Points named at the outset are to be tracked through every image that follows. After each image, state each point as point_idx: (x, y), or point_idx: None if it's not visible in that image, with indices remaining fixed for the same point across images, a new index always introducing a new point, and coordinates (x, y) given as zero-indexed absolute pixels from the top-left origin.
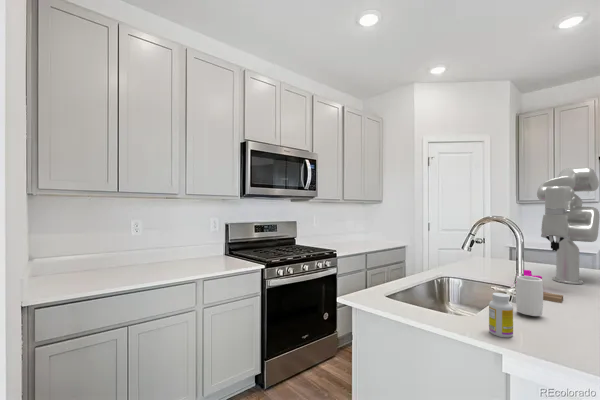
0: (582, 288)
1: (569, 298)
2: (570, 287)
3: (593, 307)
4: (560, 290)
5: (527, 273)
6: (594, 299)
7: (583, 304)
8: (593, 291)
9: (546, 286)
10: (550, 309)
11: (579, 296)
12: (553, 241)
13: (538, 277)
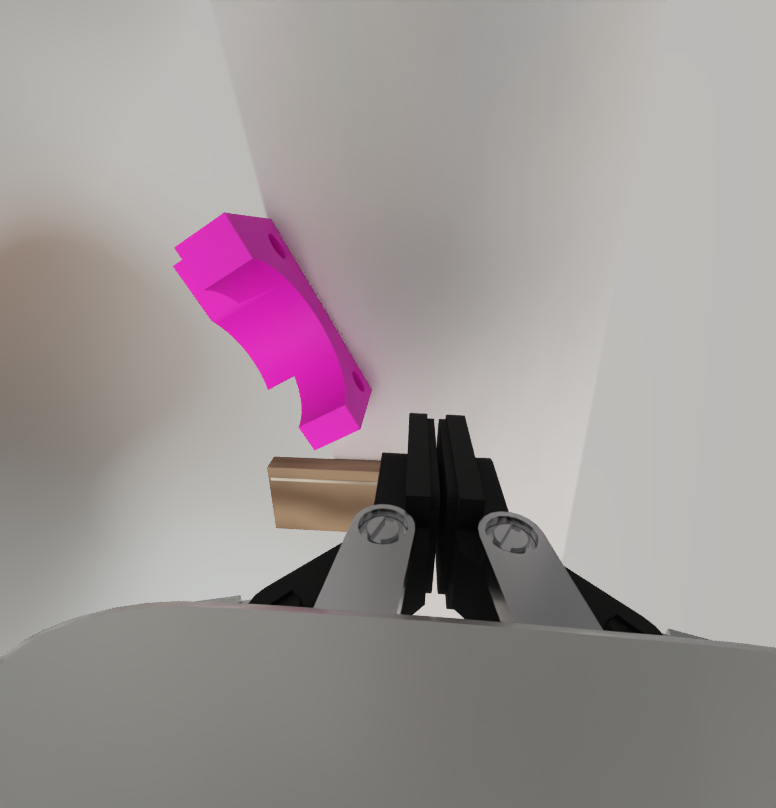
0: (582, 45)
1: (490, 427)
2: (504, 89)
3: (568, 509)
4: (448, 266)
5: (240, 276)
6: (599, 361)
7: (537, 490)
8: (641, 107)
9: (367, 206)
10: (434, 615)
11: (536, 348)
12: (416, 598)
13: (343, 433)
